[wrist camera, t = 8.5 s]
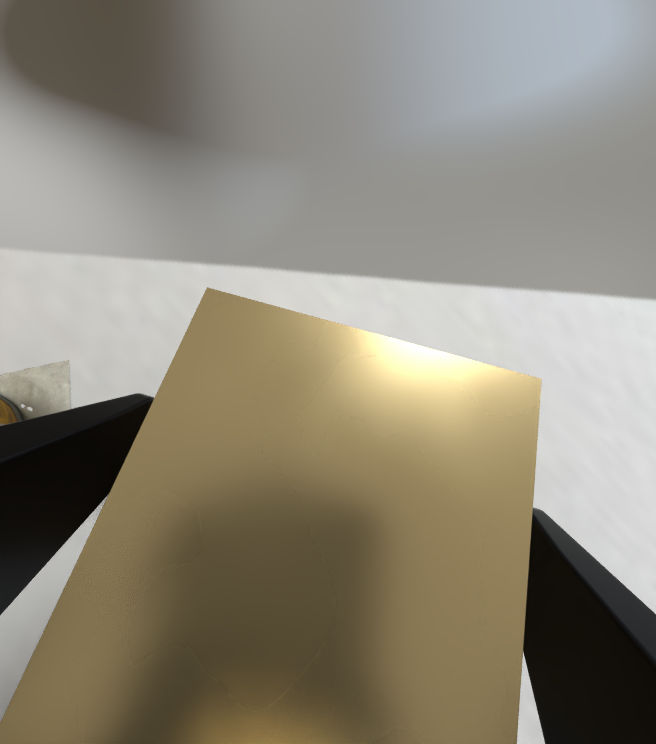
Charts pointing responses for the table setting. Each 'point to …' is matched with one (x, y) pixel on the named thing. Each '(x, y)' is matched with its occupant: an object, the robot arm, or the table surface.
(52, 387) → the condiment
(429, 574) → the brass block
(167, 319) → the table surface
